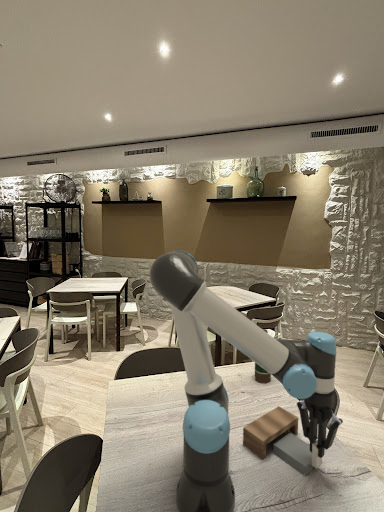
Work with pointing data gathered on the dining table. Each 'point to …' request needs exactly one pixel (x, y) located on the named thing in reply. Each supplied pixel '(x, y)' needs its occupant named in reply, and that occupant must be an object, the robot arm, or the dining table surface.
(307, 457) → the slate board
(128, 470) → the dining table surface
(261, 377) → the beer bottle
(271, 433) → the walnut arch bridge
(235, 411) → the dining table surface
